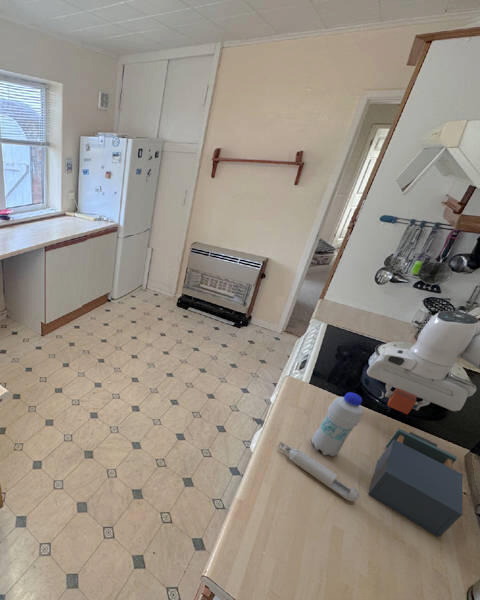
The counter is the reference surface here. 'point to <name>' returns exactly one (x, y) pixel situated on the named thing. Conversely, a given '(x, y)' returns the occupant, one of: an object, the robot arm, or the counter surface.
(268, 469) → the counter surface
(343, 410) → the bottle
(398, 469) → the cabinet
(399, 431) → the drawer
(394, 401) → the block
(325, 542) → the counter surface
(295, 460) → the white cylindrical device
